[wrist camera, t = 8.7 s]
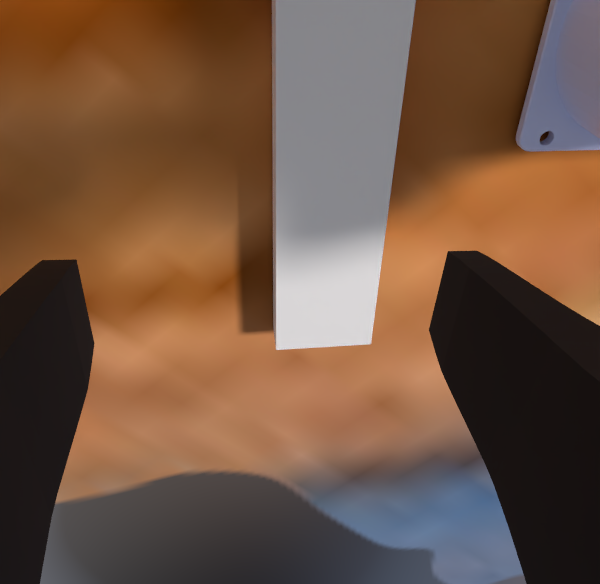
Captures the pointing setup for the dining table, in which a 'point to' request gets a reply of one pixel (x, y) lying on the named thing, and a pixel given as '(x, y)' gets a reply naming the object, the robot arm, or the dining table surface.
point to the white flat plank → (333, 162)
